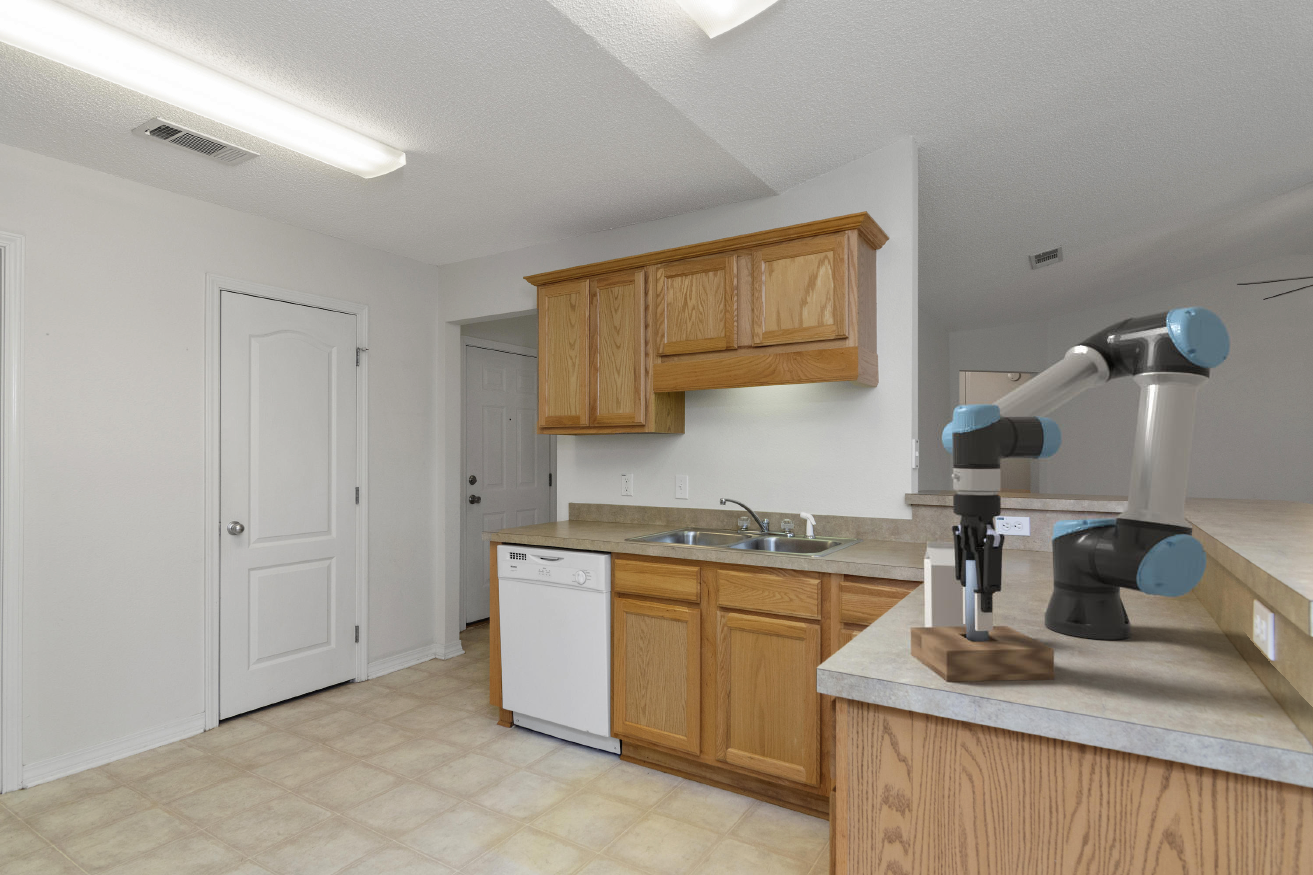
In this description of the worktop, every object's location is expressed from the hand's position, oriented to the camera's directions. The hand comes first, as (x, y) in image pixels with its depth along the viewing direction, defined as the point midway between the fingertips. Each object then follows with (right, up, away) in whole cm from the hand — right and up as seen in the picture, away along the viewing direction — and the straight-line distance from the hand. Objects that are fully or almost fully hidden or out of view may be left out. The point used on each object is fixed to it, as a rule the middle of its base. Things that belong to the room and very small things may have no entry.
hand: (977, 626), depth 117 cm
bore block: (0, -7, 0) cm, 7 cm away
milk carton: (+2, -7, +18) cm, 20 cm away
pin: (0, -4, 0) cm, 4 cm away
